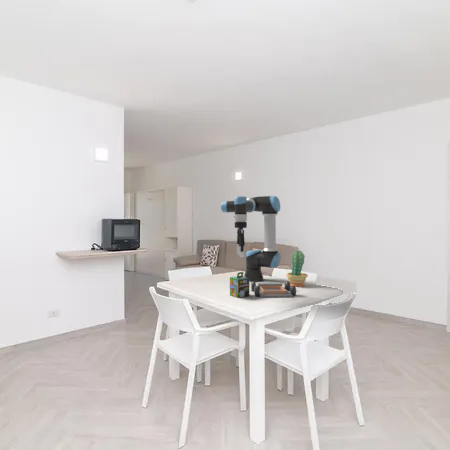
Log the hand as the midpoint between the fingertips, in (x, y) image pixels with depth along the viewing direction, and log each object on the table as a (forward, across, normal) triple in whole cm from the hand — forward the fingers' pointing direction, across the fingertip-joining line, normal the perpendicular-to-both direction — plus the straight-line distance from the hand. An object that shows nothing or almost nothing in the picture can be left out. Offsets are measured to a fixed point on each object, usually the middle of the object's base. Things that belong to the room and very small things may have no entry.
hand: (240, 255), depth 198 cm
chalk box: (+25, 0, 0) cm, 25 cm away
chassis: (+25, -6, +22) cm, 33 cm away
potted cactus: (+25, -28, +44) cm, 57 cm away
